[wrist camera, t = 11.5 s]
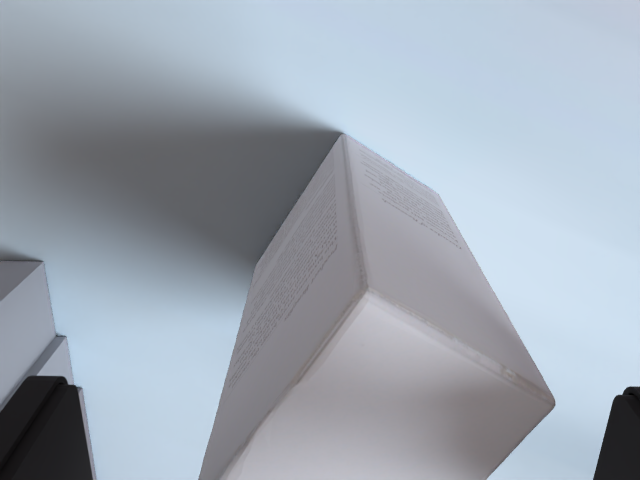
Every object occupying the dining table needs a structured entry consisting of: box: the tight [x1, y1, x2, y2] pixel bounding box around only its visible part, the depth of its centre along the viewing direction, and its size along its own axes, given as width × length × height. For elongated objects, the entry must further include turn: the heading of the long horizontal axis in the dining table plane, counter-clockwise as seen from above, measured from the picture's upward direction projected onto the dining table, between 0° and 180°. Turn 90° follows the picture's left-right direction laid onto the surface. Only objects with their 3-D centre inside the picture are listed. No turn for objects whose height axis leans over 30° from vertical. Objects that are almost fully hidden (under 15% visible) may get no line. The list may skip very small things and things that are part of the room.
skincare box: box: [198, 134, 555, 480], centre depth 16 cm, size 6×4×12 cm
